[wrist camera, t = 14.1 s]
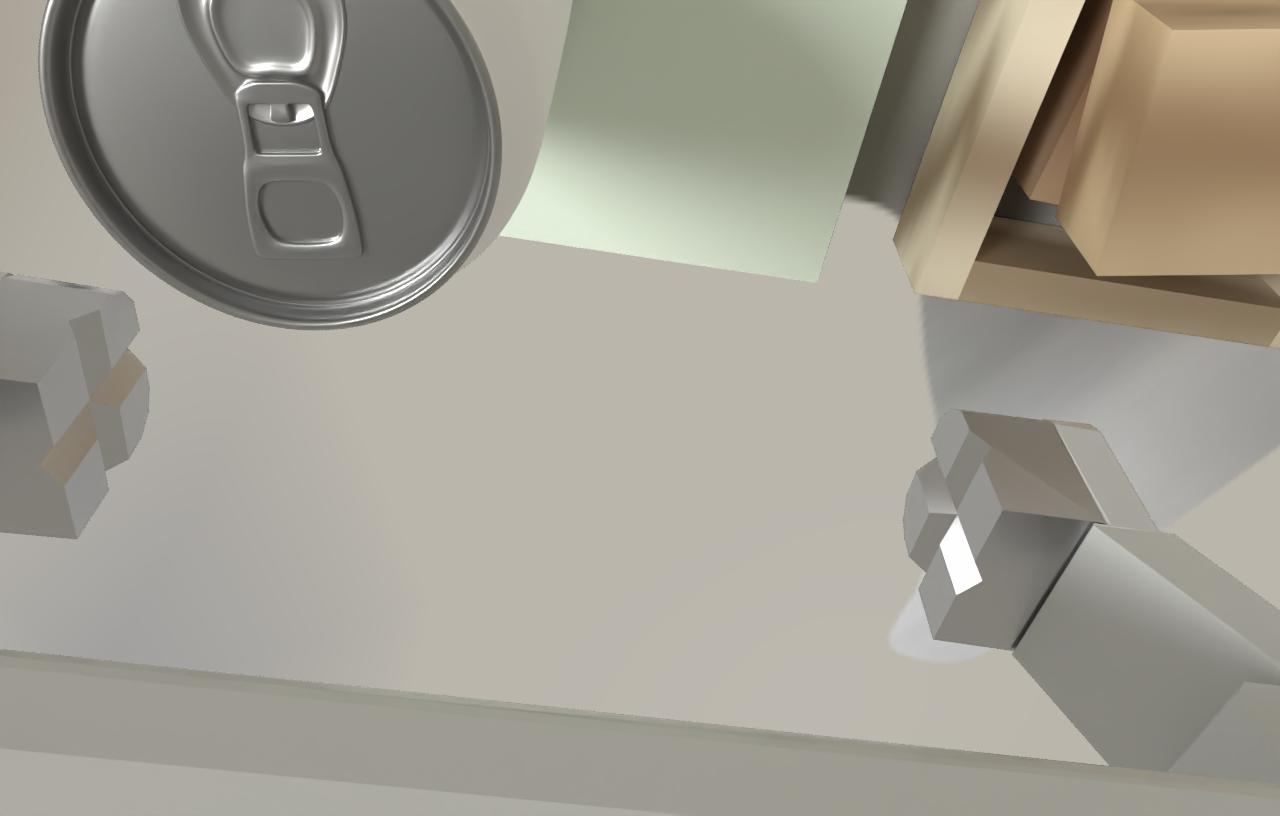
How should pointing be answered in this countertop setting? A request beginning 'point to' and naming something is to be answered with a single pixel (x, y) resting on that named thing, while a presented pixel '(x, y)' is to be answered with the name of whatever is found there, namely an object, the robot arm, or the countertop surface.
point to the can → (301, 141)
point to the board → (708, 129)
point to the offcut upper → (1180, 142)
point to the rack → (1031, 252)
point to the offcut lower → (1062, 109)
